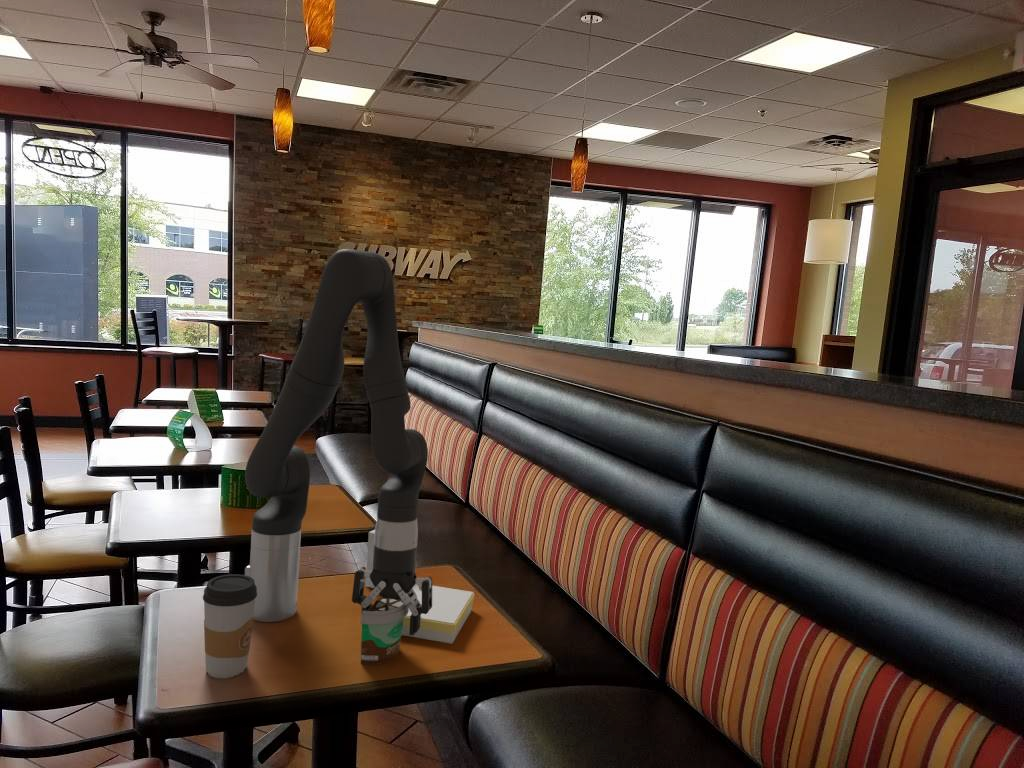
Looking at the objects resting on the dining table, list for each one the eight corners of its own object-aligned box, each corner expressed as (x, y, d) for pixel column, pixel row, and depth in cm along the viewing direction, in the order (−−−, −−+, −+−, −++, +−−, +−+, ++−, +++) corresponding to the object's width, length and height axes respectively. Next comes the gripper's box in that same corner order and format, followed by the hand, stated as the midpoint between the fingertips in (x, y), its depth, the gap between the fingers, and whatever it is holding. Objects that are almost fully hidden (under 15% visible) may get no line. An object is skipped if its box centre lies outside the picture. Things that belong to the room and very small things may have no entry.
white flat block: (381, 632, 135) (382, 612, 134) (408, 599, 151) (409, 581, 150) (453, 644, 132) (455, 624, 132) (473, 610, 148) (474, 592, 148)
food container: (390, 673, 120) (395, 617, 119) (357, 667, 121) (361, 611, 120) (414, 642, 132) (418, 591, 131) (384, 636, 133) (387, 586, 132)
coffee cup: (235, 686, 112) (240, 596, 110) (188, 677, 113) (192, 588, 112) (262, 661, 120) (267, 577, 119) (218, 653, 121) (222, 570, 120)
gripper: (349, 543, 122) (344, 632, 123) (427, 553, 119) (421, 645, 121) (365, 531, 129) (361, 615, 131) (440, 540, 127) (434, 627, 128)
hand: (390, 629), depth 126 cm, fingers open, 8 cm apart
